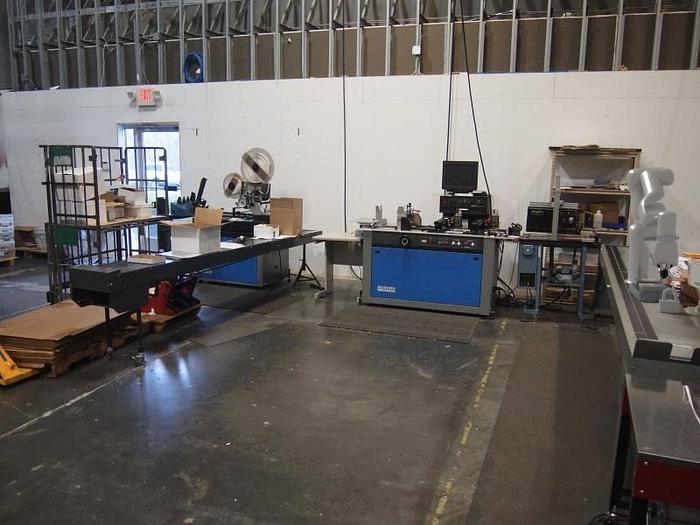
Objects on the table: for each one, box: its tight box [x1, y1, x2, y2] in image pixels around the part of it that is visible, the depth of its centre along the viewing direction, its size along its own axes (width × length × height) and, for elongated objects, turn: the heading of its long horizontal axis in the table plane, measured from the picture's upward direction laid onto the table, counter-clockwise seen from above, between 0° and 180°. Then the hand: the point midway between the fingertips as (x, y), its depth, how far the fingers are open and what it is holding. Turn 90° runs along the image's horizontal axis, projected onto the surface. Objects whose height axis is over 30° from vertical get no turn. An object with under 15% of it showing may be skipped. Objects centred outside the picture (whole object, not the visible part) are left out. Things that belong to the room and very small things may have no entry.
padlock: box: [658, 287, 681, 314], centre depth 222 cm, size 7×4×10 cm, turn 64°
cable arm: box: [657, 267, 678, 285], centre depth 253 cm, size 27×3×10 cm, turn 161°
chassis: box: [628, 278, 673, 303], centre depth 252 cm, size 26×13×7 cm, turn 162°
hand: (663, 278), depth 247 cm, fingers closed
